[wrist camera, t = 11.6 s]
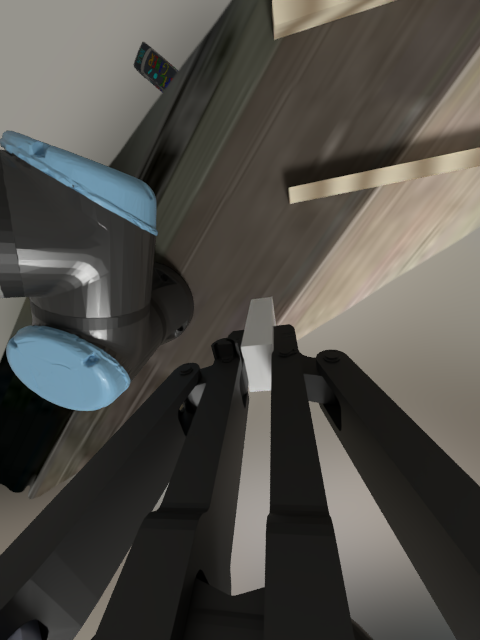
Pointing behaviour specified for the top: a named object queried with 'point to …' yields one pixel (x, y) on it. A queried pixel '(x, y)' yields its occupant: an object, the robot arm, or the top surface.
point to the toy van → (154, 67)
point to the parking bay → (316, 9)
